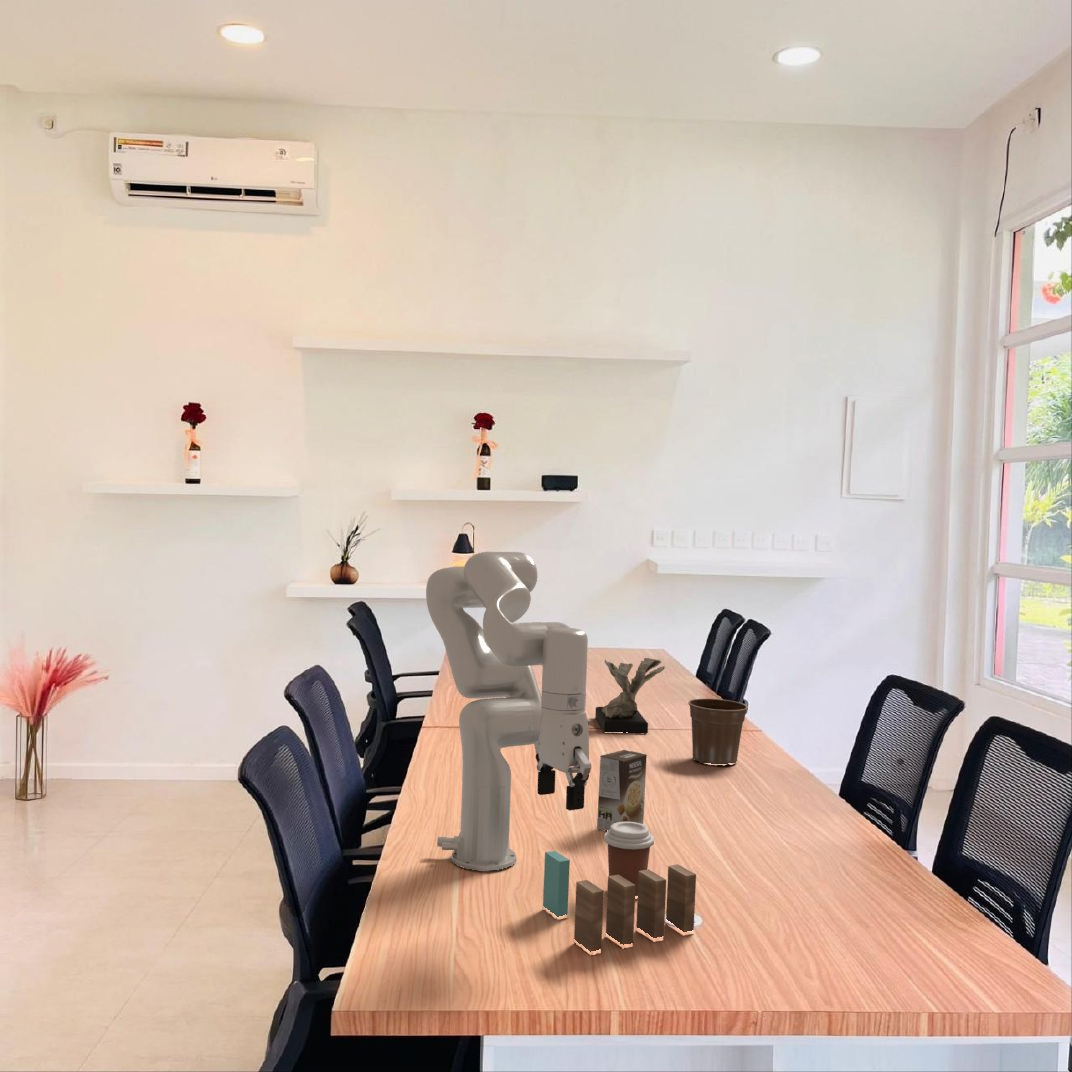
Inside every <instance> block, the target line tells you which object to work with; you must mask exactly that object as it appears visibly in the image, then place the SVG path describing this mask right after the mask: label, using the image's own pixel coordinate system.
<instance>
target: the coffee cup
mask: <svg viewBox="0 0 1072 1072" xmlns="http://www.w3.org/2000/svg"><path fill="white" fill-rule="evenodd" d="M603 841H604V842H605V843H606V845H607V860H608V876H613V875H620V876H622V877H623V878H625V879H626V880H628V881H630V882H631V883H633V884H635V885H636V889H635V896H638V873H639V871H642V870H648V869H649V868H648V865H649V859H650V858H649V857H650V853H651V852H650V851H651V847H652V846H653V845H655V837H654V835H652V834H651V833H650V829H649V827H648V826H647V825H645V824H644V823H643V824H640V823H636V822H617V823H614V824H612V825H611V826H610V830H609V831H608V832H606V831H605V833H604V839H603Z"/></svg>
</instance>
